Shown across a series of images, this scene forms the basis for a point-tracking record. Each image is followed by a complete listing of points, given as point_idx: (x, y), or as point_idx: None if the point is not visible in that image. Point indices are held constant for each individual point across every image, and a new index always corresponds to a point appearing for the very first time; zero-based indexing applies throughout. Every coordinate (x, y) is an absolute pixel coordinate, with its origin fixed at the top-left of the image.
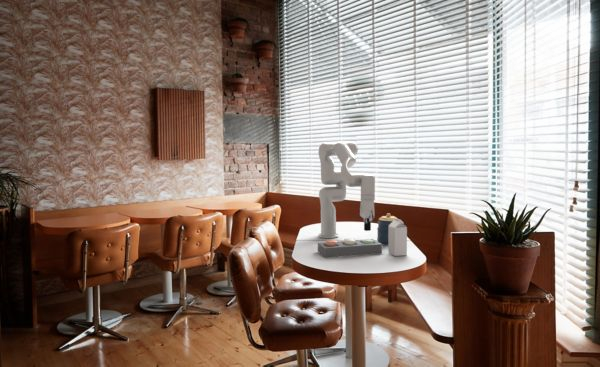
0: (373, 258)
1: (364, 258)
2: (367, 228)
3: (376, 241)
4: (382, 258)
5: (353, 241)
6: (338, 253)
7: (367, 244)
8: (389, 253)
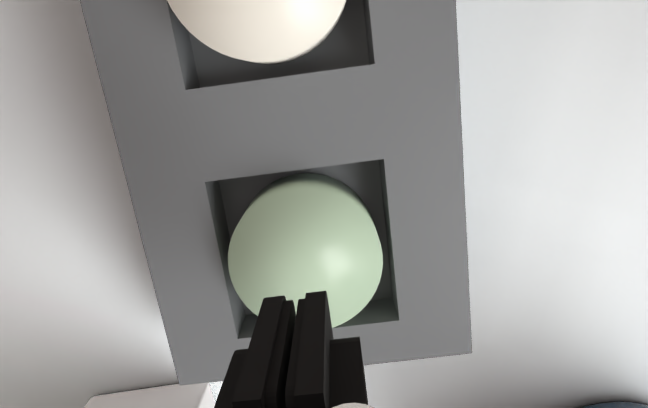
0: (21, 199)
1: (17, 108)
2: (234, 363)
3: None
4: (23, 279)
5: (179, 14)
6: None
7: (175, 218)
8: None
